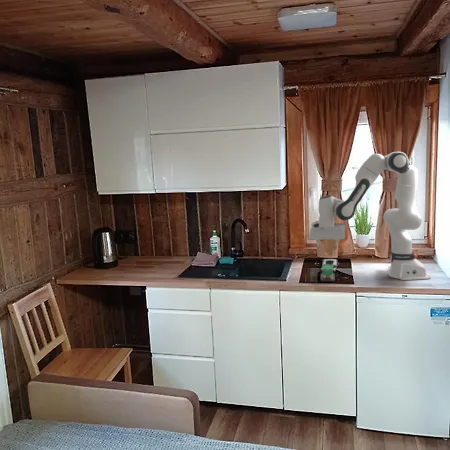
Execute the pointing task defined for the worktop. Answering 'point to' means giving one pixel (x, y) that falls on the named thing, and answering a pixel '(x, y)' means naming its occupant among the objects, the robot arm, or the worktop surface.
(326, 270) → the green board
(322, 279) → the chassis
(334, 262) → the graphics card
